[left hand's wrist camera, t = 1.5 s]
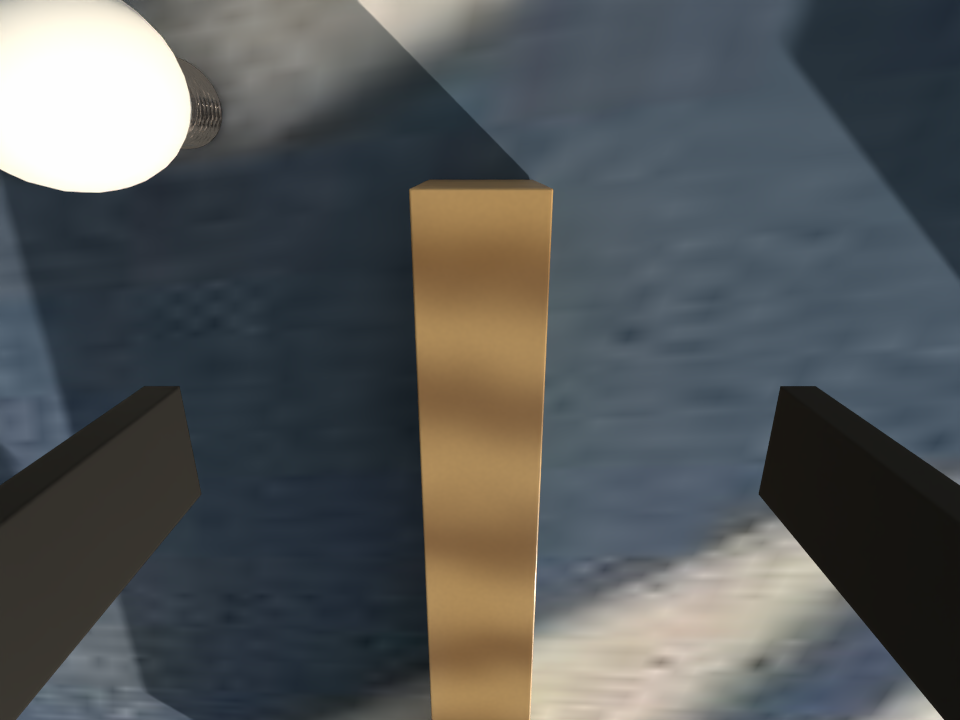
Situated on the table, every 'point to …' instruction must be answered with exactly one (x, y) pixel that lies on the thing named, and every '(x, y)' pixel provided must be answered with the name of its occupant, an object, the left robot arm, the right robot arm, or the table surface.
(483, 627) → the beam
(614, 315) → the table surface
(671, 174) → the table surface
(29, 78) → the light bulb
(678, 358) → the table surface
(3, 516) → the left robot arm
